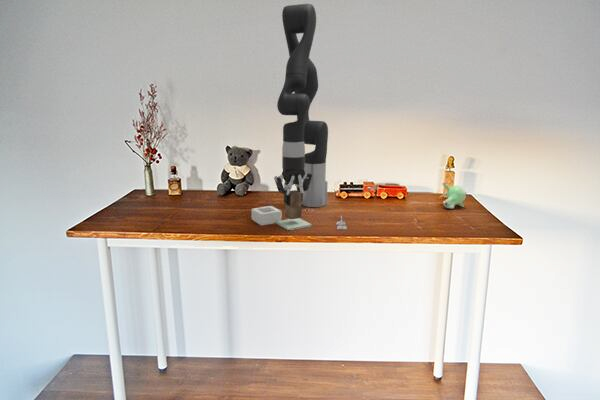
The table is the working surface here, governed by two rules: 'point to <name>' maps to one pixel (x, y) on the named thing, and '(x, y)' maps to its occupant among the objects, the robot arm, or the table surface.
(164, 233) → the table surface
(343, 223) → the grey eared piece
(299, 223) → the green mat
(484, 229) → the table surface
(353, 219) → the table surface
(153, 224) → the table surface
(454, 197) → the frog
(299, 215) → the walnut block
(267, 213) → the pocket holder
